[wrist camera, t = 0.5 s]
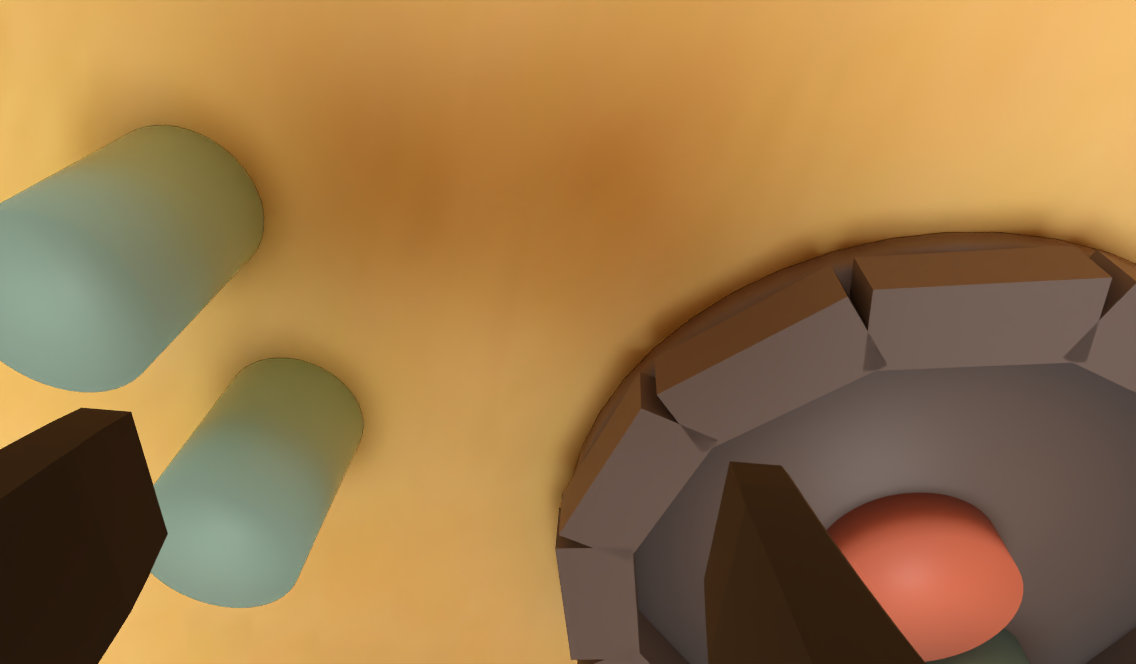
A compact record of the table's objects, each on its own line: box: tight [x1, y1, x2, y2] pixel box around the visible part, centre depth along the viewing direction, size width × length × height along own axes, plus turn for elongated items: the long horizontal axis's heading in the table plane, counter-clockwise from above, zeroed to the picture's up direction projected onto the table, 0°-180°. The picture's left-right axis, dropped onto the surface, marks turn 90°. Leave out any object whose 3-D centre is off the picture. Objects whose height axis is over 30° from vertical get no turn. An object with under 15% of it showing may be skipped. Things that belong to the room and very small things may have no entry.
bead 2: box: [151, 358, 363, 608], centre depth 19 cm, size 4×4×5 cm
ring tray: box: [555, 233, 1136, 664], centre depth 21 cm, size 19×19×2 cm
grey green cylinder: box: [0, 125, 264, 392], centre depth 16 cm, size 4×4×5 cm
